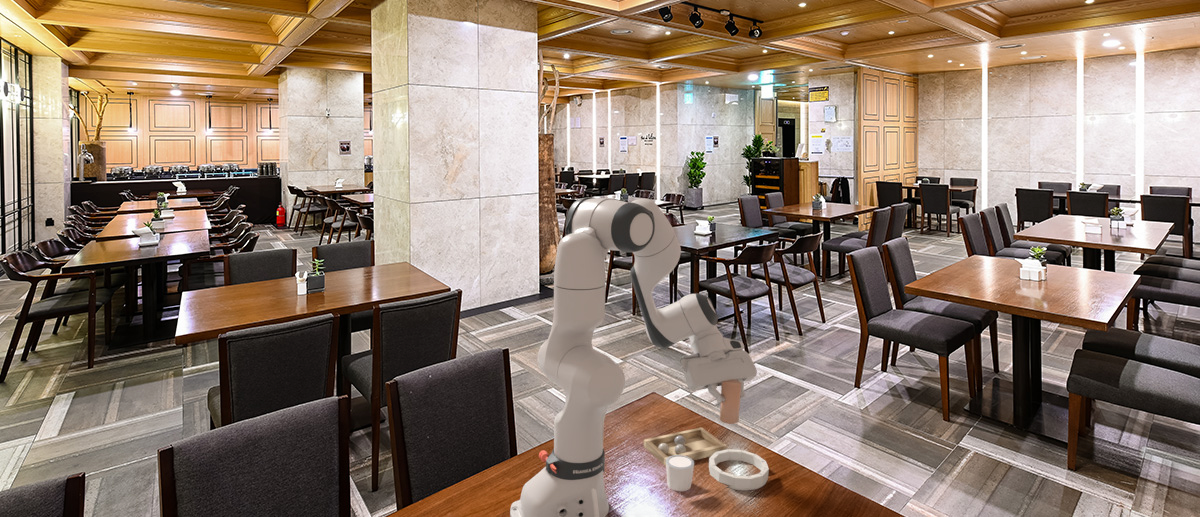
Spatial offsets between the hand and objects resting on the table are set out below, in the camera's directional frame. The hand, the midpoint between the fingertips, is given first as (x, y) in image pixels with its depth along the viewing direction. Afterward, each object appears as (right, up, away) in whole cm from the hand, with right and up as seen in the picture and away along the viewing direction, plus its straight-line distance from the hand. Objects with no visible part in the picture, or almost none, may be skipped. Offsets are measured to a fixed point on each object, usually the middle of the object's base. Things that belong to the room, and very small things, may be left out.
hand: (732, 400), depth 155 cm
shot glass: (-14, -20, -5) cm, 25 cm away
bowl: (+2, -19, +1) cm, 19 cm away
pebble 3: (-13, -14, +9) cm, 21 cm away
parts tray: (-10, -17, +13) cm, 24 cm away
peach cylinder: (0, -5, +2) cm, 6 cm away
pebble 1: (-16, -17, +10) cm, 25 cm away
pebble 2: (-10, -14, +14) cm, 22 cm away
